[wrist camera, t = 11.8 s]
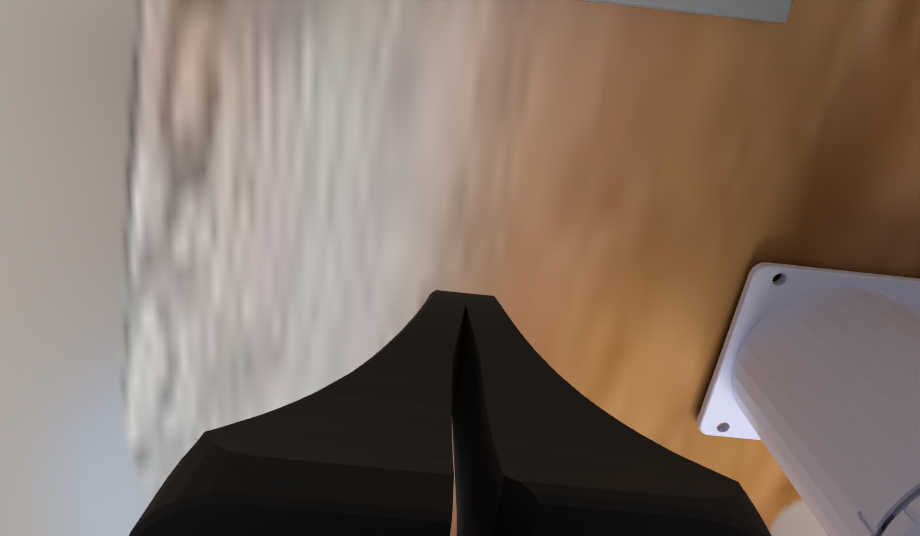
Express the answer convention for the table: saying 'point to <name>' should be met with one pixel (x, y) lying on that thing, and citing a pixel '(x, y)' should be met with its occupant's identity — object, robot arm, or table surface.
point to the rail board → (718, 7)
